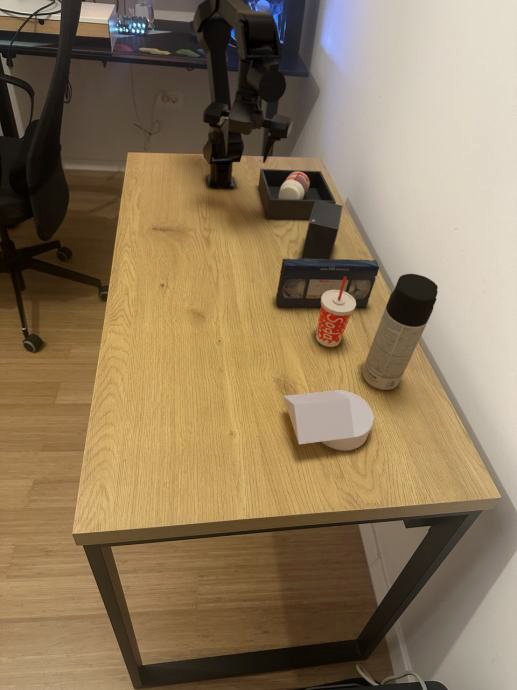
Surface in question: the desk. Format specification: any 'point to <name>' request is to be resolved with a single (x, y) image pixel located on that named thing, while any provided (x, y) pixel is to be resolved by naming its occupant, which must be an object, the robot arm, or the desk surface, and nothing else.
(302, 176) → the pill bottle
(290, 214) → the bin
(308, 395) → the wedge on round base
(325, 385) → the desk surface
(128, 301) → the desk surface
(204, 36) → the robot arm
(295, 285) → the vhs cassette tape
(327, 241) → the small box
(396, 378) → the spray can
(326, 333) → the beverage cup
